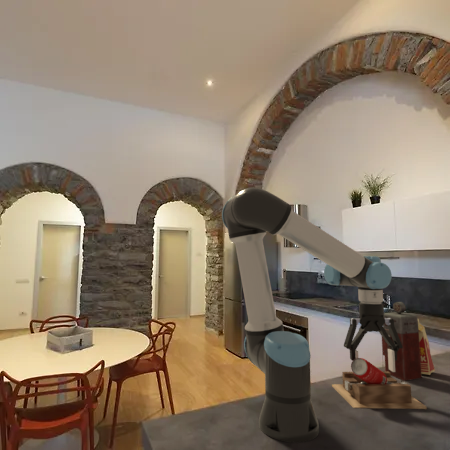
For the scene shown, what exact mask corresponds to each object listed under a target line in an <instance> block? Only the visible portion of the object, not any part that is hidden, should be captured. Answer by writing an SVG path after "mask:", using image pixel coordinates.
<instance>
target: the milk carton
mask: <svg viewBox="0 0 450 450" xmlns="http://www.w3.org/2000/svg"><path fill="white" fill-rule="evenodd" d="M418 329H419V345H420V361H421V375H429V376H430V375H431V374H432V373H434V372H435V371H436V369H435V366H434V362H433V358H432V355H431V349H430V343H429V342H430V341H429V338H428V335H427V333H426V332H427V331H426V328H425V326H424V325H423V324H422V323H420V319H419V318H418Z"/></svg>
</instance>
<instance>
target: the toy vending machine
mask: <svg viewBox="0 0 450 450" xmlns="http://www.w3.org/2000/svg"><path fill="white" fill-rule="evenodd" d="M392 309H393V311H394V312H393V311H391V312H384V318H391V319H393V320H394V327H395V329H396V331H397V334H398V336H399V339H400V341H401V344H402V346H403V348H402V349H399V350H398V351H397V360H395V372H392V371H391V370H389V365H388V349H391V348H390V347H389V345H388V344H387V343H386V341H385V340H384V338H383V337H382V336H381V347H382V349H381V350H382V356H384V371H388V372H390V373H391V377H394V378H396V379H399V380H400V381H401V380H404V381H406V382H407V381H411V380H412V381H413V380H416V379H417V380H418V379H422V374H421V361H420V345H419V329H418V319H419V318H418V315H416V314H412V313H407V312H405V311H406V305H405V303H404V302H403V301H396V302H394V303H393V304H392ZM383 328H384V329H385V331H386V333H387V334H388V336H389V337H390V338H391V340H392V341H393V339H392V336H391V334H390V332H389V329H388V327H387V324H386V323H384V325H383ZM393 343H394V341H393Z"/></svg>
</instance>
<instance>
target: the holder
mask: <svg viewBox="0 0 450 450" xmlns="http://www.w3.org/2000/svg"><path fill="white" fill-rule="evenodd" d="M381 371H382V372H384V374H385V375H386V377H387V381H389V382H391V383H392V384H368V383H367V382H366V383H367V384H352V388H350V390H351V391H347V390H346V389H345V381H348V382H349V383H360V382H365V381H363V380H362V379H360V378H359V377H357V376H356V375H354V373H353V371H342V383H341V384H340V383H339V384H338V383H336V384H331V386H332V388H333V389H334V390H335V391H336V393H338V394H339V395H340V397H342V398H343V399H344V401H346V402H347V403H348V404H349V405H350V406H351V407H352V408H353V409H396V410H397V409H400V410H401V409H409V410H410V409H412V410H413V409H415V410H417V409H418V410H427V409H428V408H427V405H425V404H424V403H422V402H421V401H419V400H418V399H416V398H415V397H414V396H412V386H411V385H410V384H409V383H408V384H401V382H398V380H396V379H395V377H394V378H393V376H391V373H390V372H388V371H385V370H384V371H383V370H381Z"/></svg>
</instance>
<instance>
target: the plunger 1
mask: <svg viewBox="0 0 450 450" xmlns="http://www.w3.org/2000/svg"><path fill="white" fill-rule="evenodd" d="M352 384H367V383H366V382H360V383H349V382H348V381H345V389H346V390H347V391H351V390H350V388H352Z"/></svg>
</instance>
